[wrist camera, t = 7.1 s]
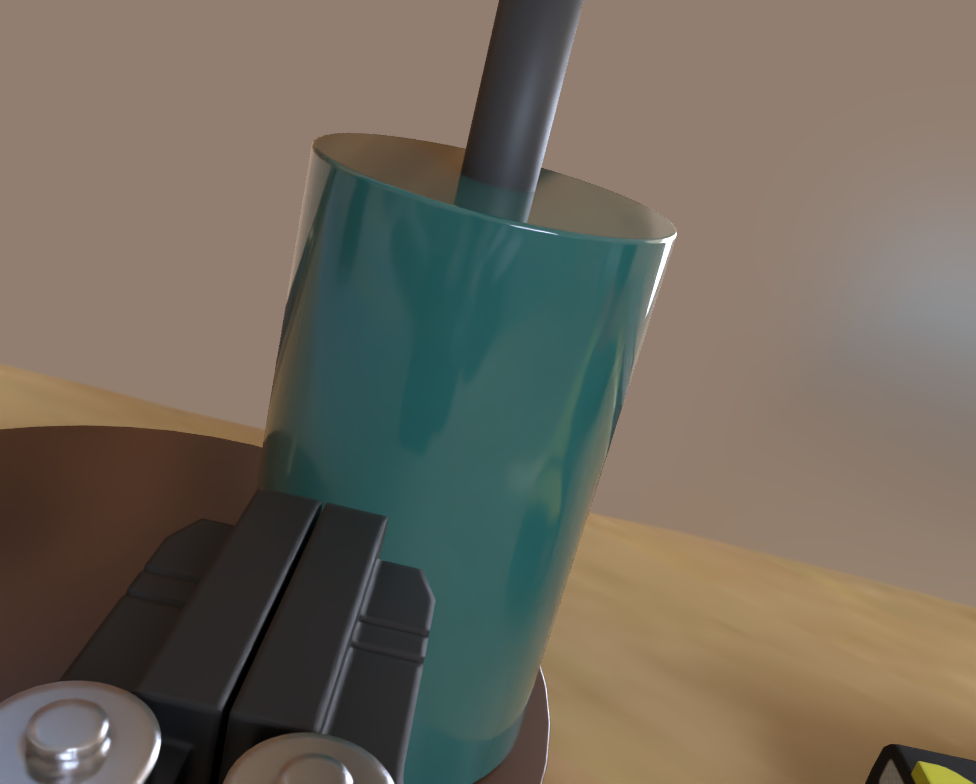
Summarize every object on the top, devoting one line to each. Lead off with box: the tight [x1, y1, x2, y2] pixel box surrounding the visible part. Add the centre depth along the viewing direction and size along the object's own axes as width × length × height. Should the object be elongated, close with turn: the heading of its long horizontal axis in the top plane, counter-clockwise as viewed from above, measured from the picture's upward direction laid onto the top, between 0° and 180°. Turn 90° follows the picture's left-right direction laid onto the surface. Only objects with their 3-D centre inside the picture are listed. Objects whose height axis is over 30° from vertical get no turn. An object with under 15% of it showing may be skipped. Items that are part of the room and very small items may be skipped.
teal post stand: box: [0, 0, 677, 784], centre depth 15 cm, size 17×17×20 cm
